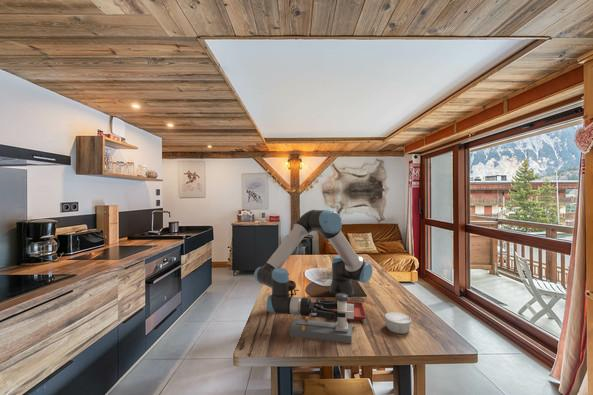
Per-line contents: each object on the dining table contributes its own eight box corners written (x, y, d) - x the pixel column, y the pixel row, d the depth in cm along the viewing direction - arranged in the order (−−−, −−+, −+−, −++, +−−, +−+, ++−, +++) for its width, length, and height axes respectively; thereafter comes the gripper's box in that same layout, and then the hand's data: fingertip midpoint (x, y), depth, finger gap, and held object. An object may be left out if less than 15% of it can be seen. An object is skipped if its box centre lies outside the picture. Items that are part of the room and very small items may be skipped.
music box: (279, 314, 130) (277, 274, 132) (271, 308, 140) (269, 271, 142) (305, 309, 137) (303, 271, 139) (295, 303, 147) (294, 268, 149)
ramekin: (409, 337, 108) (409, 325, 108) (382, 330, 114) (382, 319, 114) (413, 327, 118) (412, 315, 118) (387, 321, 123) (387, 310, 124)
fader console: (289, 336, 109) (289, 325, 110) (295, 325, 119) (294, 315, 119) (351, 343, 104) (351, 332, 104) (351, 331, 113) (351, 321, 113)
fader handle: (335, 330, 107) (335, 297, 107) (336, 323, 113) (336, 292, 113) (348, 331, 106) (347, 298, 106) (348, 325, 112) (348, 293, 112)
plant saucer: (328, 321, 124) (328, 314, 124) (328, 306, 142) (328, 300, 142) (366, 323, 121) (366, 316, 121) (362, 308, 139) (362, 302, 139)
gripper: (305, 306, 123) (354, 310, 118) (295, 325, 104) (353, 331, 99) (305, 290, 124) (353, 294, 118) (295, 306, 104) (353, 312, 99)
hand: (353, 311), depth 108 cm, fingers open, 7 cm apart
